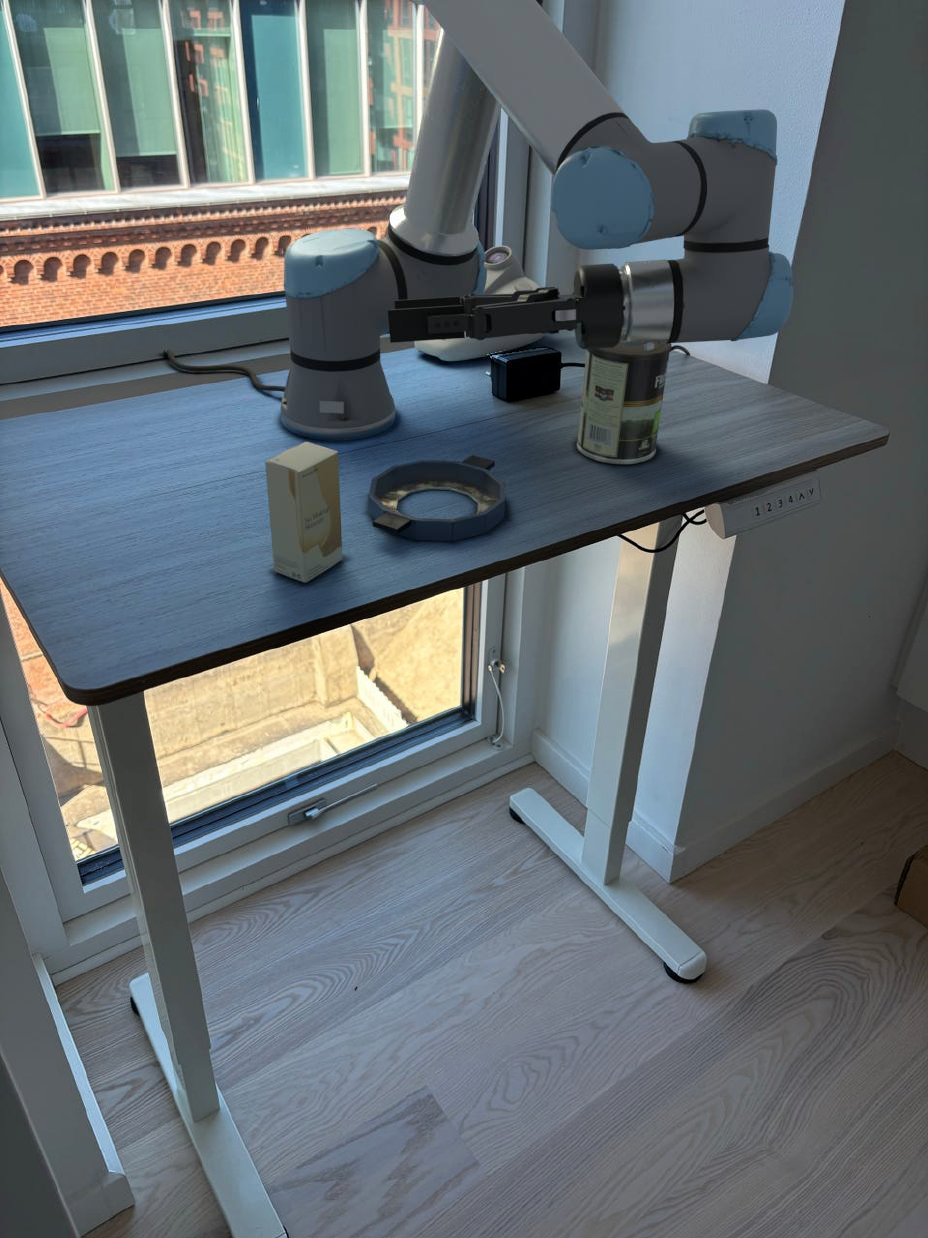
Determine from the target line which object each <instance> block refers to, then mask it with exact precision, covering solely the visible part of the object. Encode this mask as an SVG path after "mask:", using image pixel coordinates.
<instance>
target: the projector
mask: <svg viewBox="0 0 928 1238" xmlns="http://www.w3.org/2000/svg"><path fill="white" fill-rule="evenodd" d="M484 253H485V257H486V261H485V262H484V268H487V280H486V286H485V289H484V293H483V295H487V294H514V292H516V291H522V290H536V289H537V288H542V286H540V285H539V284H538V283H537V282H535V281H534V280H533V279H530V278H529V277H527V276H526V275H525V272H524V270H523V267H522V265H521V263H520V261H519V259H518V257H517V255H516V254H515V253H514V252H513V250H512V249H511V248H510V247H509V246H507V245H497V246H493V247H491V248H489V249H487V250H486V251H484ZM546 335H547V334H542V333H537V334H520V335H511V336H502V337H493V338H485V339H484V340H477V339H474V338H472V339H471V338H469V337H466V332H465V338H457V339H442V340H426V341H413V342H414V349H415V350H416V351H417V352H419V353H423V354H427V355H430V356H434V357H437V358H439V359H440V360H441V361H446V362H459V361H467V360H473V359H479V358H483V357H484V358H485V357H488V356H487V354H491V353H494V355H496V354H495V352H499V351H504V350H507V351H506V352H510V351H512V350H516V349H519V348H522V347H525V346H527V345H531V344H533V343H536V342H537V341H538V340H541V339H542V338H543V337H545V336H546ZM498 354H501V352H499V353H498Z"/></svg>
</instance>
